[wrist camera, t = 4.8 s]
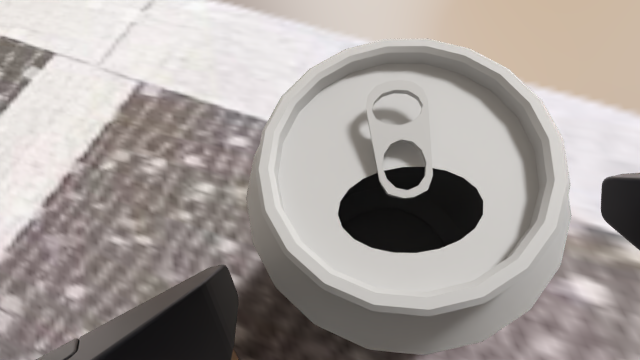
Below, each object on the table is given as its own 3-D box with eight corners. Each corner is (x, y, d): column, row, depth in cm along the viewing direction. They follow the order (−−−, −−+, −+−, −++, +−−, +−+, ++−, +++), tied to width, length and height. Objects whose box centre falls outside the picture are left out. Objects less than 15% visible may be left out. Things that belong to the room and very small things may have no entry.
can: (311, 357, 17) (211, 369, 7) (305, 201, 21) (228, 31, 10) (483, 347, 17) (690, 342, 6) (450, 187, 20) (546, -13, 9)
